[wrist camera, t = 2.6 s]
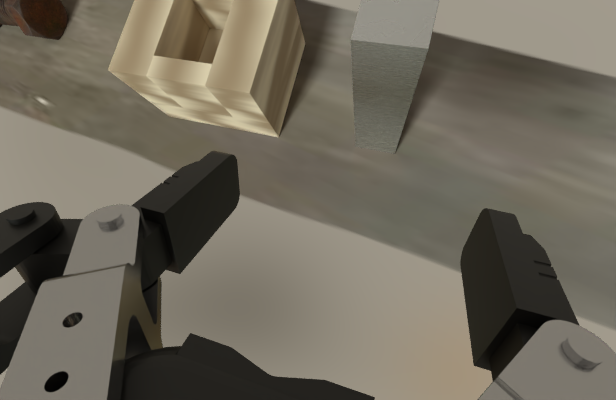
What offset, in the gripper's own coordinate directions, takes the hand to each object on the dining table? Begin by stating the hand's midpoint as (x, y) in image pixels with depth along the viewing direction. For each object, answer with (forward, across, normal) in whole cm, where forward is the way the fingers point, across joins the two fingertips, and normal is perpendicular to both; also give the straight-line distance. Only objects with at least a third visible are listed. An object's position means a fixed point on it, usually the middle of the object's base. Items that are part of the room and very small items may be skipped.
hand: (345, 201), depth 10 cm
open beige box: (+21, +15, +3) cm, 26 cm away
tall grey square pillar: (+19, 0, +4) cm, 20 cm away
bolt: (+23, +46, +1) cm, 51 cm away
